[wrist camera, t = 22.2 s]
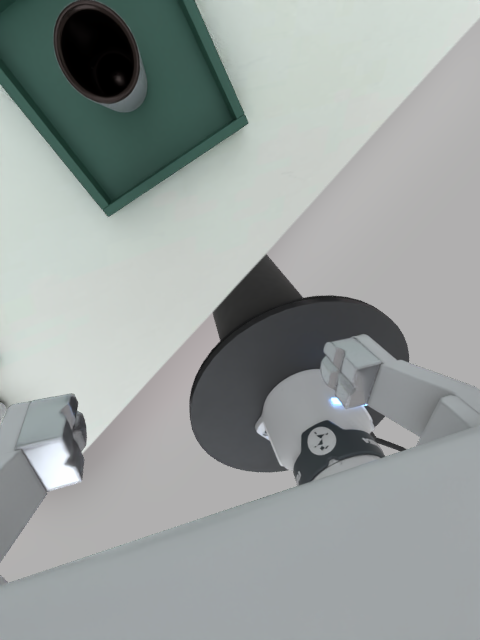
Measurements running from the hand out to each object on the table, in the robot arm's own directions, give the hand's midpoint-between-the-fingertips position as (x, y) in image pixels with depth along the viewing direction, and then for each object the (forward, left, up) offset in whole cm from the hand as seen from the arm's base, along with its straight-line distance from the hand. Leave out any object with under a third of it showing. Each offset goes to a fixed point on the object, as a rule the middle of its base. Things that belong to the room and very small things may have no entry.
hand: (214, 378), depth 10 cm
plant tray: (+11, -2, -27) cm, 29 cm away
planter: (+11, -2, -27) cm, 29 cm away
